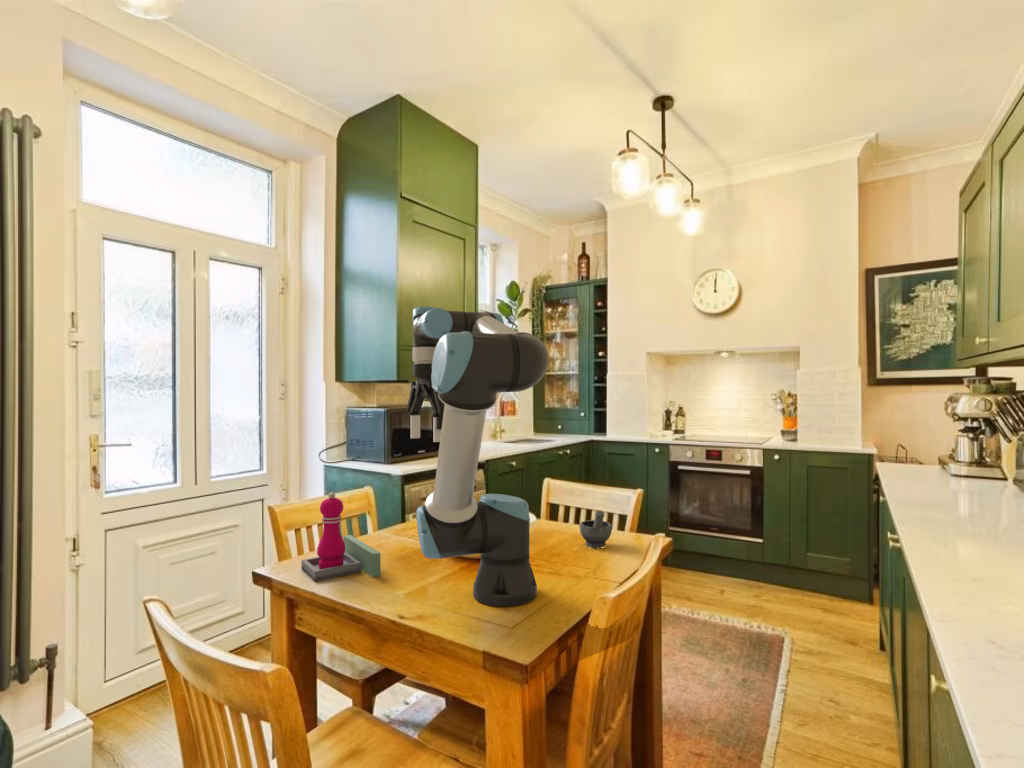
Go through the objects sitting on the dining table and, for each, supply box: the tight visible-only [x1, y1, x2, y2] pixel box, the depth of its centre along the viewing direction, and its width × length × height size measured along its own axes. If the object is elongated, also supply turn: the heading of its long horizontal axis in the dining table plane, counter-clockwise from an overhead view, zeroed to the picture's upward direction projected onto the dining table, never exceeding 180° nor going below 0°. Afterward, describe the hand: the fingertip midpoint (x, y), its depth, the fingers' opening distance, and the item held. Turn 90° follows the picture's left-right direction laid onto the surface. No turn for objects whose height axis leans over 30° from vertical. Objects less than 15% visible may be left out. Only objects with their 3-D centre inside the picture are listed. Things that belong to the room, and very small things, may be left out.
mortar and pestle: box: [579, 510, 613, 548], centre depth 165 cm, size 11×9×12 cm
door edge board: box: [343, 534, 381, 578], centre depth 148 cm, size 22×2×6 cm, turn 37°
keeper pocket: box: [300, 552, 362, 582], centre depth 144 cm, size 12×12×2 cm
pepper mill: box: [316, 491, 345, 569], centre depth 144 cm, size 7×7×20 cm
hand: (426, 440), depth 148 cm, fingers open, 13 cm apart
